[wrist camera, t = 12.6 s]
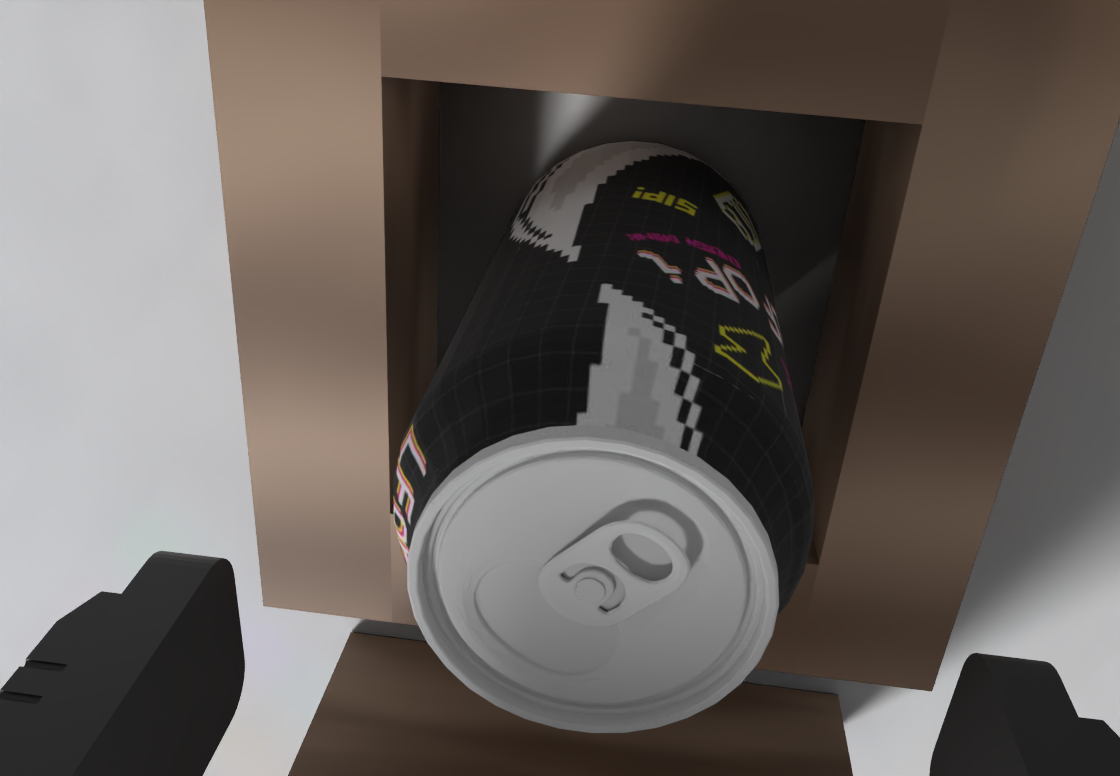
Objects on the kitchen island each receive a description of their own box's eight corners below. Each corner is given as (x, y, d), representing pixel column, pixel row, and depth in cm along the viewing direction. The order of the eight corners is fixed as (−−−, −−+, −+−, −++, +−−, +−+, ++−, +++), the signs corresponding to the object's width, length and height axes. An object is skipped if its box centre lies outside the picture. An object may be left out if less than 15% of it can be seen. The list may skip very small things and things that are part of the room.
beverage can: (815, 261, 22) (938, 620, 11) (631, 414, 24) (592, 832, 14) (634, 74, 21) (582, 287, 10) (458, 256, 23) (264, 586, 12)
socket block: (291, -136, 19) (189, -137, 15) (1072, -77, 18) (1179, -64, 14) (326, 496, 26) (263, 606, 22) (893, 563, 25) (932, 691, 21)
